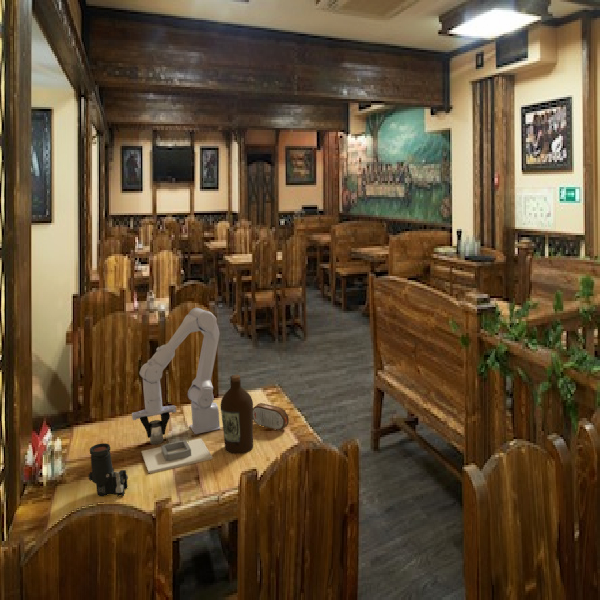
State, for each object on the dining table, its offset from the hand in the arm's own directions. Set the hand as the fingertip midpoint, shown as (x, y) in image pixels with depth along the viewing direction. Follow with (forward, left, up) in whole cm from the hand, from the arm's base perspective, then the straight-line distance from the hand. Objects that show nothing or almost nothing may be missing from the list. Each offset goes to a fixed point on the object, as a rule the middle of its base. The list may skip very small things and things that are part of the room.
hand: (156, 435), depth 181 cm
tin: (-39, +8, -3) cm, 40 cm away
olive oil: (-24, +18, -3) cm, 30 cm away
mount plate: (-4, +14, -2) cm, 15 cm away
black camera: (+18, +27, -3) cm, 33 cm away
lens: (0, 0, -2) cm, 2 cm away
